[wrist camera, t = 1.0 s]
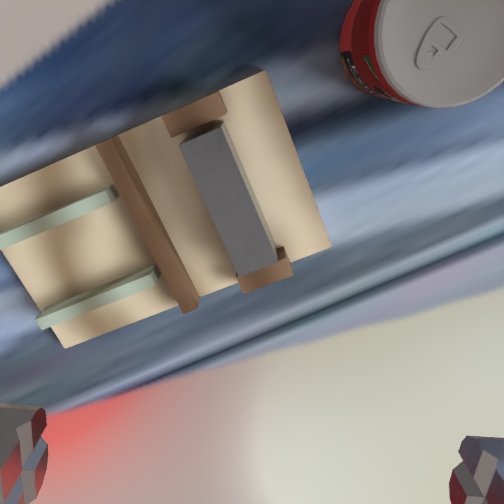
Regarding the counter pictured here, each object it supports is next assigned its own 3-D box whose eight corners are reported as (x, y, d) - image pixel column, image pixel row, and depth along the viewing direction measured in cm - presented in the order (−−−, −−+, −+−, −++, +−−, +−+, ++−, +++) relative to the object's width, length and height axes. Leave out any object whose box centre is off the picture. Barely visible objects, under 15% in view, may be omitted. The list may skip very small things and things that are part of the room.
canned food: (319, 76, 34) (351, 78, 24) (366, -46, 31) (425, -103, 21) (416, 113, 35) (486, 131, 25) (469, -2, 32) (573, -35, 22)
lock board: (264, 69, 34) (267, 69, 30) (329, 241, 38) (337, 258, 35) (-23, 196, 37) (-51, 209, 33) (69, 341, 41) (53, 365, 38)
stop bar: (185, 137, 34) (178, 145, 30) (223, 120, 34) (221, 127, 30) (239, 256, 38) (239, 277, 34) (275, 242, 37) (278, 262, 33)
